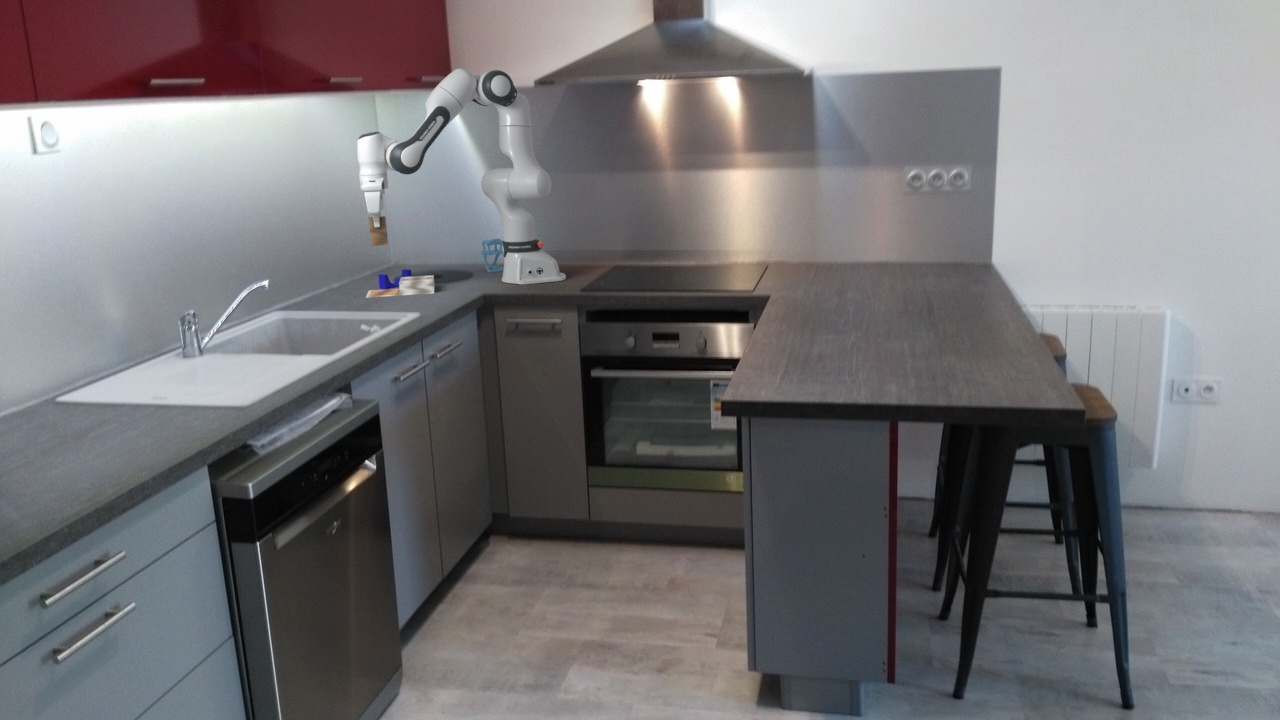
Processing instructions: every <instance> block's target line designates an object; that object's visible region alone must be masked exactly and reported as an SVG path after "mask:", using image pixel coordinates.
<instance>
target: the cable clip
mask: <svg viewBox="0 0 1280 720" xmlns="http://www.w3.org/2000/svg"><path fill="white" fill-rule="evenodd" d="M412 275H413V274H412V269H406V268H405V269H401V276H400V277H398V278H396V280H395V281H394V282H393V283H392V281H390V278H389V274H387V273H381V274H378V275H377V276H378V284H379V285H378V286H379V290H383V289H396V288H399V281H400V278H401V277H413V276H412Z"/></svg>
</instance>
